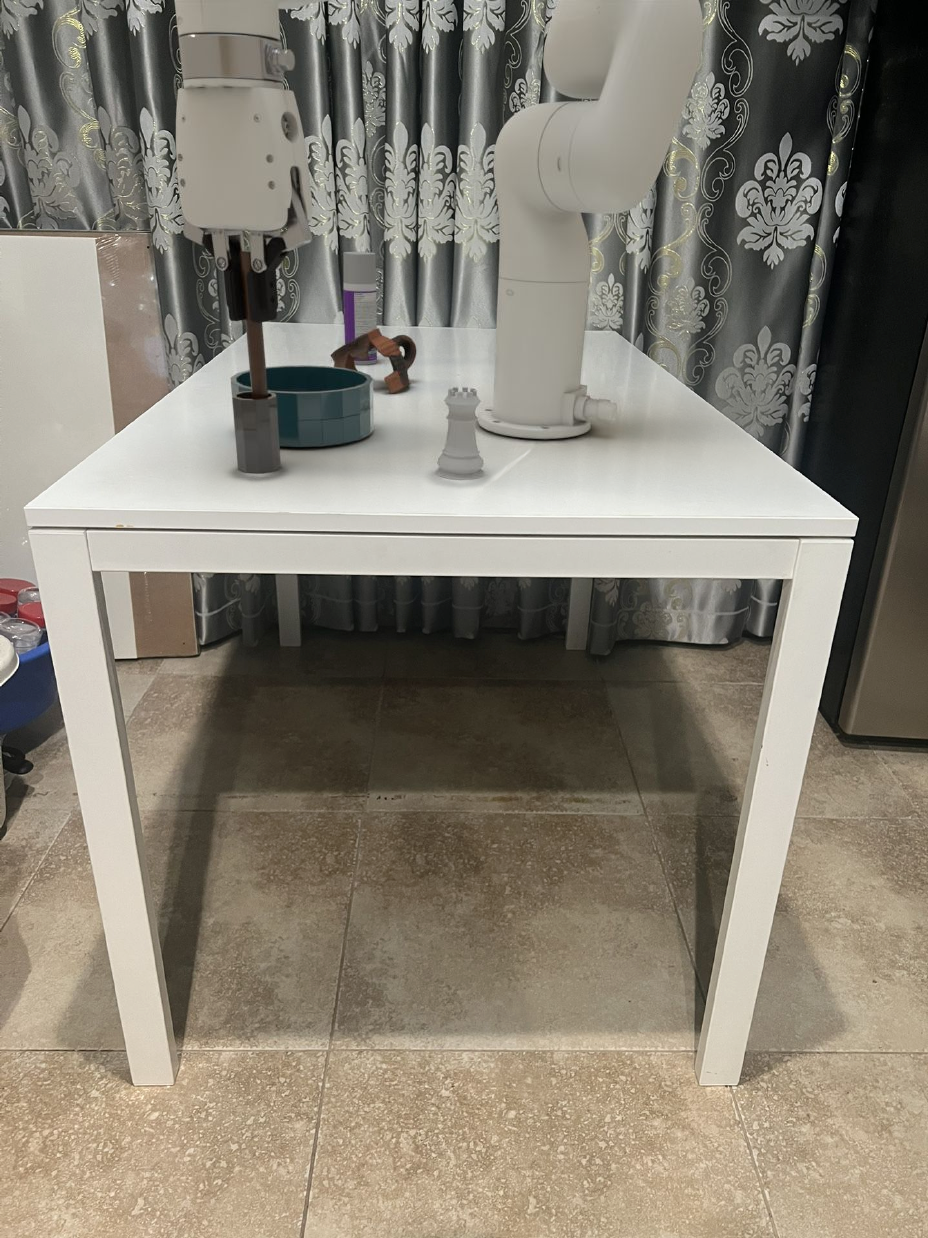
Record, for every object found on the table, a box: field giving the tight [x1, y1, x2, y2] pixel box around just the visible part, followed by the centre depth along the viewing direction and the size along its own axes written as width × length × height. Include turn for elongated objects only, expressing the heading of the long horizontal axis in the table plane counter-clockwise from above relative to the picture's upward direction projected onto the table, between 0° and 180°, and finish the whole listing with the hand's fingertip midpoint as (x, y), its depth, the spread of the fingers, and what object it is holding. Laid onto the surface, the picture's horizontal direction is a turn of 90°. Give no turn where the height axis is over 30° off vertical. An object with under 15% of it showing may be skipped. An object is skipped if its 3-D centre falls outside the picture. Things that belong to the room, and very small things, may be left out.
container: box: [343, 251, 378, 366], centre depth 131 cm, size 5×5×15 cm
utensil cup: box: [231, 391, 282, 475], centre depth 81 cm, size 4×4×7 cm
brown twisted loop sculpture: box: [330, 327, 417, 394], centre depth 118 cm, size 12×10×8 cm
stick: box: [239, 250, 268, 399], centre depth 78 cm, size 1×1×16 cm
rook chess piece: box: [435, 386, 485, 481], centre depth 82 cm, size 4×4×8 cm
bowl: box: [230, 364, 375, 448], centre depth 93 cm, size 14×14×6 cm
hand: (253, 318), depth 77 cm, fingers closed on stick, 1 cm apart
